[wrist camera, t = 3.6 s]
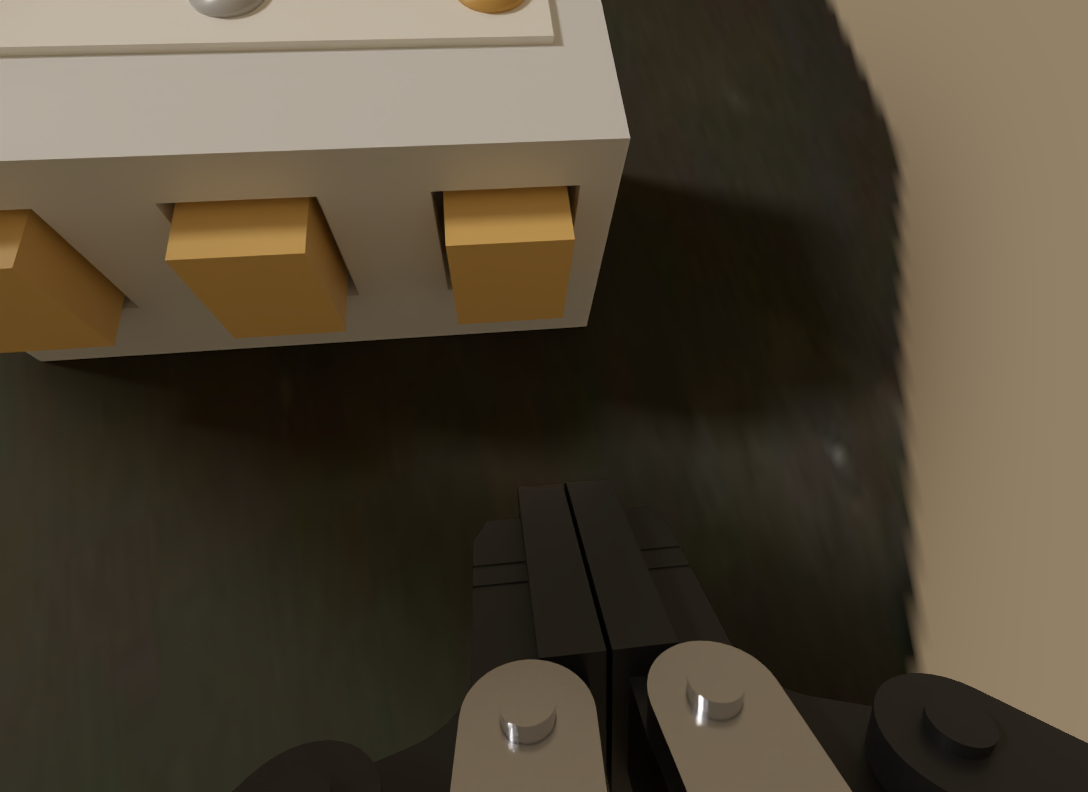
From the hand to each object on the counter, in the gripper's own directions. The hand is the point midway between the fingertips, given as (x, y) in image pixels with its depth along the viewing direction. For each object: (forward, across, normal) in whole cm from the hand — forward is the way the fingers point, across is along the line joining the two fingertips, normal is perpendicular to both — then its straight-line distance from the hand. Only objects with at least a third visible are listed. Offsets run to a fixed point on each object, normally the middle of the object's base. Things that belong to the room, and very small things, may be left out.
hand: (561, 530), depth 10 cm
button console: (+24, +9, -2) cm, 26 cm away
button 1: (+17, +18, -1) cm, 25 cm away
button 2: (+17, 0, -1) cm, 17 cm away
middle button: (+17, +9, -1) cm, 19 cm away
